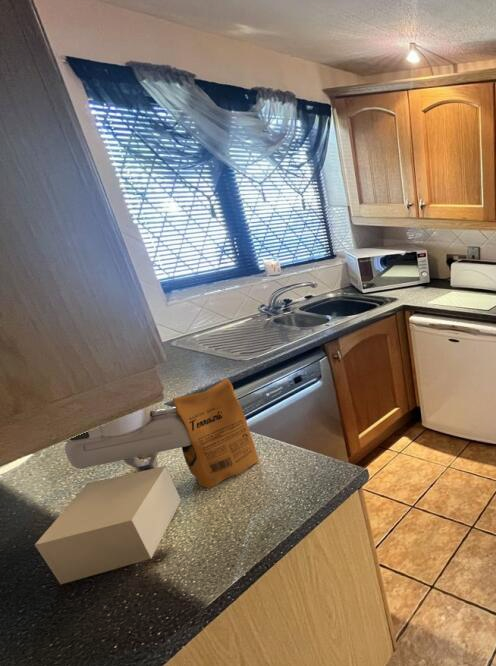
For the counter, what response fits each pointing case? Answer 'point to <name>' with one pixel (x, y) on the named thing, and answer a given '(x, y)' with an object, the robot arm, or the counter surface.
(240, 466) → the coffee package
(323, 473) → the counter surface
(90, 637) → the counter surface
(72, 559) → the beige rectangular block
